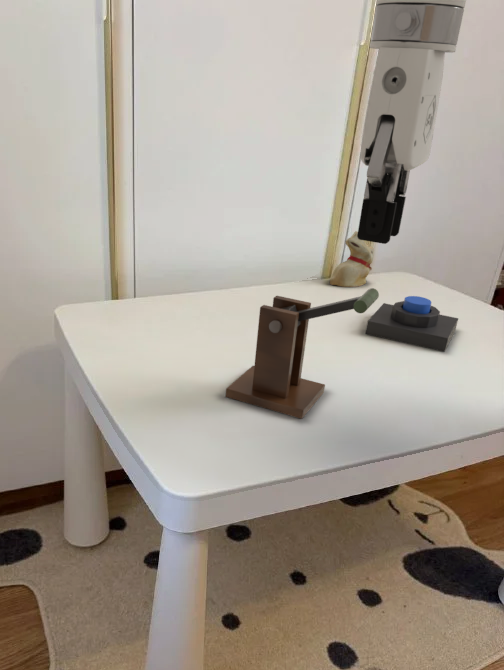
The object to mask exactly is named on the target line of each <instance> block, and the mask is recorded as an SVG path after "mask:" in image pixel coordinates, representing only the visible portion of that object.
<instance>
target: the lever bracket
mask: <svg viewBox="0 0 504 670" xmlns="http://www.w3.org/2000/svg"><path fill="white" fill-rule="evenodd" d="M272 299H273V300H272V306H271V305H266V304H263V305H261V306H260V307H259V316H258V326H257V336H256V345H255V347H256V348H255V355H254V365H251V366H250V367H249V368H248V369H247V370H246V371H245V372H244V373H242V374H241V375H240V376H239V377H238V378H236V379H234V381H233V382H232V383H230V384H229V385H228V386H227V387H226V389H225V397H226V398H228V399H232V400H236V401H239V402H241V403H242V402H243V403H246V404H249V405H252V406H256V407H259V408H263V409H266V410H269V411H273V412H277V413H279V414H284V415H286V416H290V417H293V418H296V419H297V418H298V419H301V420H303V418H304V417H306V415H307V414H308V412H309V411H310V410H311V409H312V408H313V406H314V405H315V404H316V403H317V401H319V399H320V398H321V397H322V395H324V393H325V388H326V385H325V384H324V383H321V382H317V381H313V380H309V379H307V378H302V372H303V365H304V358H305V351H306V344H307V343H306V342H307V336H308V329H309V322H310V319H307V320H303V321H300V322H301V324H300V325H299V326H298V327H297V325H298V317H299V313H298V312H294V311H289V310H285V309H280V308H284V307H288V306H292V305H295V306H296V309H297V311H300V310H305V309H309V308H312V302H309V301H304V300H299V299H295V298H290V297H286V296H282V295H275V296H274V297H273V298H272Z"/></svg>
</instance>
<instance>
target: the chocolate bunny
mask: <svg viewBox="0 0 504 670" xmlns="http://www.w3.org/2000/svg"><path fill="white" fill-rule="evenodd" d="M357 234H358V230H355V231H354V232H353V234H352V235H351V236H350V237H348V238H347V239H346V240H345V245H346V247H348V249H349V252H350V254H349V257H347V259H346V260H345V261H343V262H341V263H339V264H338V265H337V266H335V268H334V270H333V272H332V274H331V276H330V278H329V285H331V286H337V287H343V288H344V287H345V288H346V287H348V288H350V287H352V288H354V287H361V286H364V285H366V284H367V277H368V276H369V273H370V271H372V269H373V268H372V267H371V265H372V264H373V262H374V255H375V250H374V248H373V247H372V246H370V245H368V244H367V242H366V241H364V240H359V239H358V237H357Z"/></svg>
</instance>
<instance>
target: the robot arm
mask: <svg viewBox="0 0 504 670" xmlns="http://www.w3.org/2000/svg"><path fill="white" fill-rule="evenodd" d="M466 3H467V0H376V3H375V4H376V6H375V10H374V16H373V22H372V29H371V35H370V36H371V37H370V41H369V42H370V43H369V49H372V50H373V49H375V50H378V53H377V58H376V61H375V67H374V71H373V76H372V80H371V85H370V91H369V95H368V101H367V105H366V106H367V107H366V113H365V118H364V123H363V130H362V136H361V144H360V154H359V155H360V156H359V157H360V161H361V162H362V163H363V164H364V165H365V166H366V167H367V169H366V181H365V182H366V183H365V187H364V193H363V199H362V205H361V211H360V216H359V224H358V228H357V232H358V234H357V237H358V239H359V240H364V241H365V242H371V243H377V244H383V245H386V244H388V243H389V242H390V241H391V237H397V236H398V235H399V234H400V230H401V229H400V228H401V223H402V219H403V213H404V207H405V203H406V198H407V196H405V195H406V193H407V189H408V184H409V179H410V173H411V170H414V169H415V168H418V167H419V166H421V165H423V164H424V163H426V162H427V161H429V158H430V155H431V149H432V145H433V144H432V143H433V137H434V131H435V125H436V120H437V114H438V107H439V103H440V98H441V91H442V82H443V77H444V68H445V67H444V66H445V57H446V53H456V51H457V50H456V49H457V45H458V41H459V36H460V31H461V25H462V21H463V16H464V11H465V7H466Z"/></svg>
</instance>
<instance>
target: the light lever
mask: <svg viewBox="0 0 504 670" xmlns="http://www.w3.org/2000/svg"><path fill="white" fill-rule="evenodd" d="M379 296H380V294H379V291H378V289H376V288H373V287H371V288H368V289H367V290H366V291H365V292H364V293H363V294H362V295H360V296H356V297H352V298H348V299H344V300H343V299H342V300H339V301H335V302H331V303H327V304H323V305H318V306H317V305H316V306H313V307H310V308H309V309H305V310H300V311H297V309H296V306H295V305H292V306H288V307H284V308H280V309H285V310H289V311H294V312H298V313H299V317H298V325H297V327H298V326H299V325H300V324H301V322H300V321H303V320H307V319H309V320H311V319H314V318H319V317H324V316H328V315H333V314H337V313H342V312H346V311H352V310H354V312H356V313H357V314H364V313H366V312H367V310H368V309H369V308H370V307H371V306H372V305H373V304H374V303H375V302H376V301H377V300H378V299H379Z"/></svg>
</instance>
